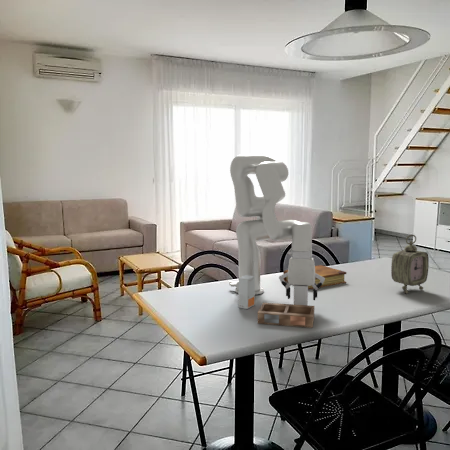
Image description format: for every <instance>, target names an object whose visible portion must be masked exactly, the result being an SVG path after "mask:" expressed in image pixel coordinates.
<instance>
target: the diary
mask: <svg viewBox="0 0 450 450" xmlns="http://www.w3.org/2000/svg"><path fill="white" fill-rule="evenodd" d="M287 272H288V269H286V270H283V273H282V275H283V274H285V273H287ZM315 273H316V274H318V275H320V276H322V277H324V278H325V281H324V282H323V284H322V286H321V287H320V288H325V287H330V286H335V285H341V284H346V283H347V281H346V280H345V275H347V273H348V272H347V271H344V270H341V269H336V268H334V267H329V266H325V265H322V264H320V265H315ZM283 279H284V281H285V282H286V283H288V276H287V277H285V278H283ZM319 282H320V279H318V278H316V277H315V283H316V284H318V283H319ZM313 289H314V288H313V287H312V285H311V286H308V290H313Z"/></svg>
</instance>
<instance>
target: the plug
mask: <svg viewBox="0 0 450 450" xmlns="http://www.w3.org/2000/svg"><path fill="white" fill-rule="evenodd" d="M308 302H309V289H308V286H306V285H293V305H308V306H309V303H308Z"/></svg>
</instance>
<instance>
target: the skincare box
mask: <svg viewBox="0 0 450 450" xmlns="http://www.w3.org/2000/svg"><path fill="white" fill-rule="evenodd" d="M238 281H239V294H238V308H239V309H244V310H248V309H250V308H252V307H255V300H256V299H255V296H256V295H255V276H249V275H245V276H242V277H240V278H239V277H238Z"/></svg>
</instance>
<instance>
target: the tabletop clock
mask: <svg viewBox="0 0 450 450" xmlns="http://www.w3.org/2000/svg"><path fill="white" fill-rule="evenodd" d="M410 237H414V241H412V240H410V241H409V242H408V239H409V238H410ZM405 238H406V239H405V242H406V244H407V245H406V246H405V247H404V250H403V249H402V250H399V251H397V252H394V253H393V254H392V258H391V270H390V271H391V279H392V280H393V282H395V283H398V284H403V286H402V287H401V288H402V290H404V291H403V292H404V294H406V295H407V294H408V293H409V291H408V290H407V289H408V286H410V287H414V286H415V287H417V286H419V288H418V290H420V291H422V290H423V289H424V287H423V286H421V285H422V284H423V285H424V283H425V282H427V280H428V276H429V267H430V264H429V262H430V261H429V253H428V252H426V251H425V252H424V251H420V250H418V248H417V246H416V245H414V244H415V243H416V242H417V236H416V235H415V234H409V235H407V236H406V237H405Z"/></svg>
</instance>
